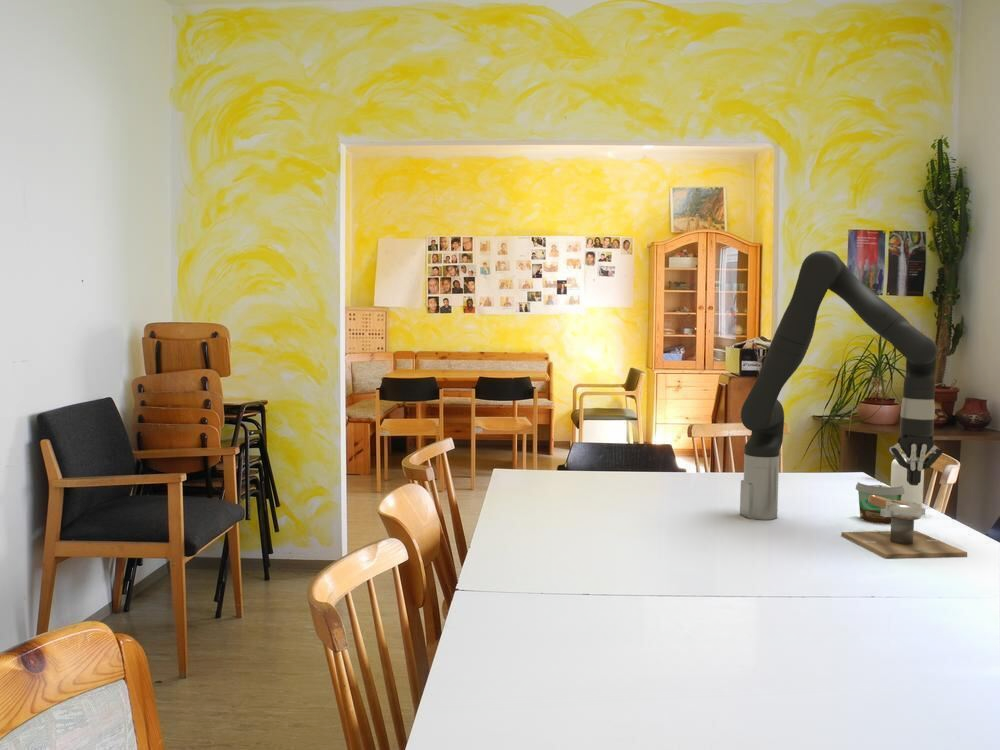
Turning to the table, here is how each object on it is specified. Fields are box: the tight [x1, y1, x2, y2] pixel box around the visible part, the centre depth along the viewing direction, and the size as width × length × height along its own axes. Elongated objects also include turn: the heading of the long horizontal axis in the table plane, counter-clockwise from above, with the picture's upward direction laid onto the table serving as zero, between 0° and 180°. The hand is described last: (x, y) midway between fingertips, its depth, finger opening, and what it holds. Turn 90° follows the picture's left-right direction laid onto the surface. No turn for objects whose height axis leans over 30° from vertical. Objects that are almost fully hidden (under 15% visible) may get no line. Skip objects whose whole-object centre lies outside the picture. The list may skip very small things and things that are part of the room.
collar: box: [868, 495, 926, 521], centre depth 207 cm, size 16×11×3 cm
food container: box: [855, 481, 905, 524], centre depth 228 cm, size 12×6×10 cm, turn 62°
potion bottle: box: [890, 449, 925, 508], centre depth 237 cm, size 8×8×18 cm
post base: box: [840, 518, 968, 559], centre depth 203 cm, size 20×20×7 cm
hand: (913, 484), depth 211 cm, fingers closed
